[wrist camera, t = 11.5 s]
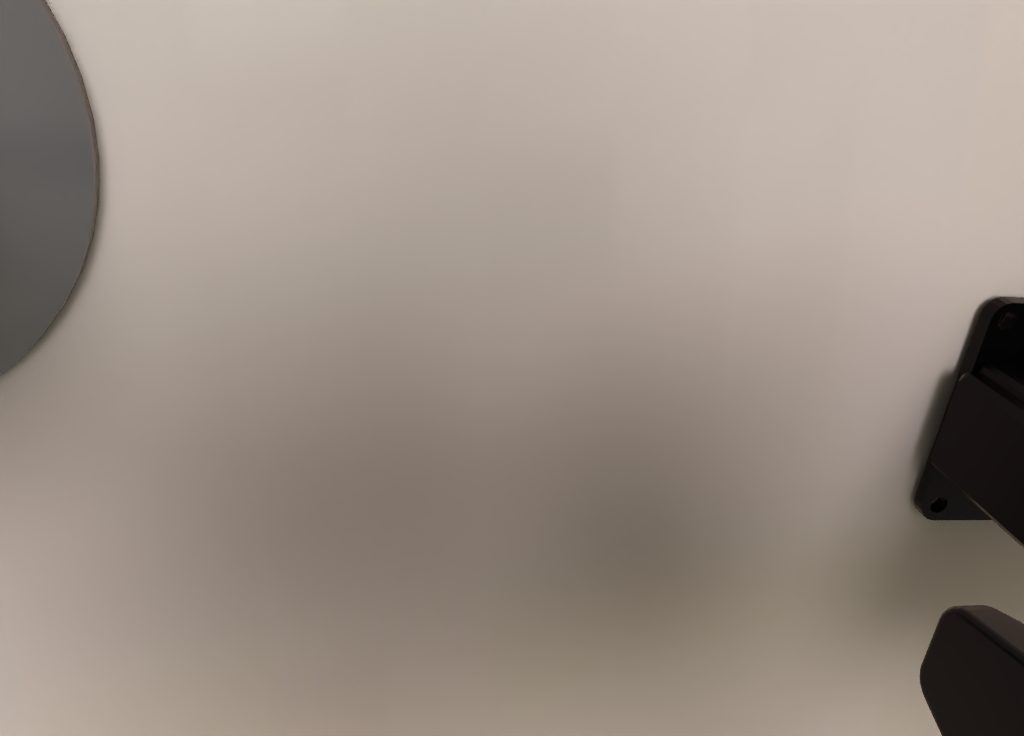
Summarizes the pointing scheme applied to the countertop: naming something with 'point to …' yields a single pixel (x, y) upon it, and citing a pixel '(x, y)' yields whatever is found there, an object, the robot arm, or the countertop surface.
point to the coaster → (41, 174)
